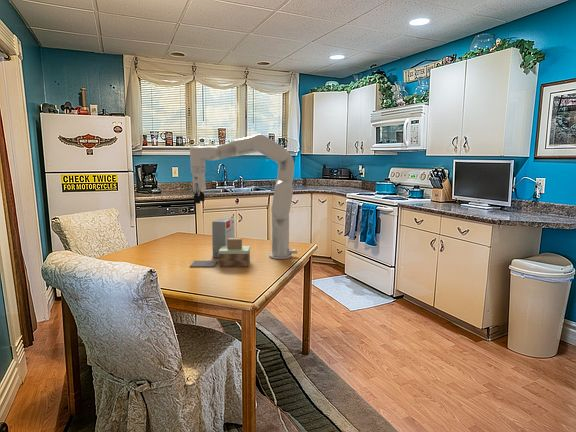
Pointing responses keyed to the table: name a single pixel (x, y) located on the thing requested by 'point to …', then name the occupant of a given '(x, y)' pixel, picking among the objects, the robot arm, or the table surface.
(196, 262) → the mat
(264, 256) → the table surface
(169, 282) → the table surface
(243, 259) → the crate
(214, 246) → the hard drive box
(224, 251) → the lid
